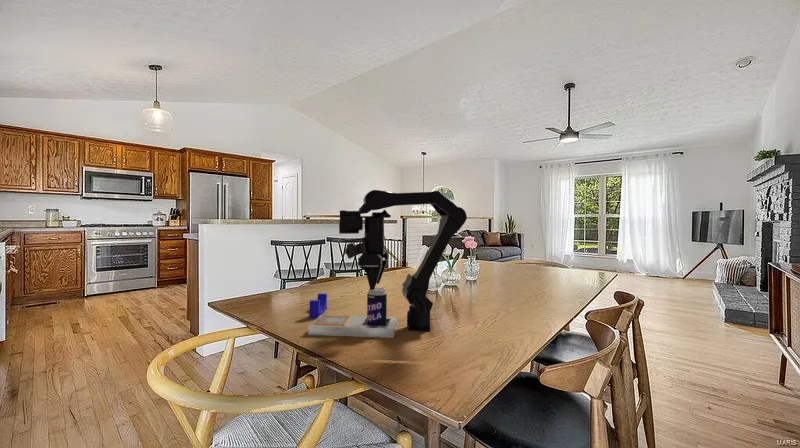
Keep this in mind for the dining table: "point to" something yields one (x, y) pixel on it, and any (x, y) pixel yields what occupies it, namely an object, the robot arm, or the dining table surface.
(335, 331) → the grey rectangular slab
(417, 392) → the dining table surface
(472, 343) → the dining table surface
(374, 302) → the beverage can
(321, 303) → the cable clip
